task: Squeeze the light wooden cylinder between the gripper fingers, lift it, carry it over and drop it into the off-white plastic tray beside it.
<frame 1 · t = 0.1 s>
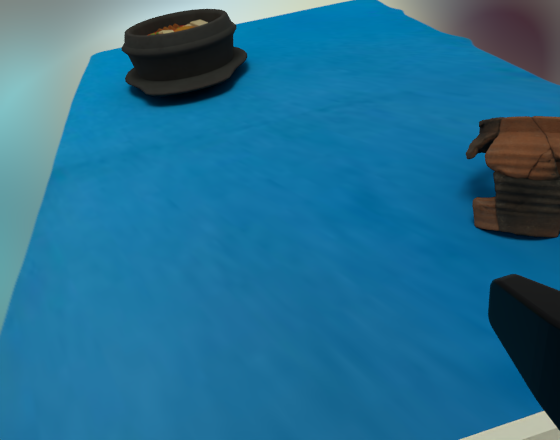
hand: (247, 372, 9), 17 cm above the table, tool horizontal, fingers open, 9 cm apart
casserole: (189, 79, 81), on the table
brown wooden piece: (536, 211, 40), on the table
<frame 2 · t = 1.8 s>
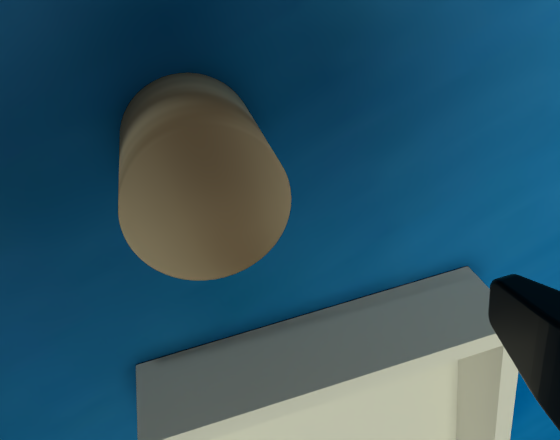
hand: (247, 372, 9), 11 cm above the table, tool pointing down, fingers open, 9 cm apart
serving tray: (327, 423, 27), on the table
wooden cylinder: (188, 138, 18), on the table
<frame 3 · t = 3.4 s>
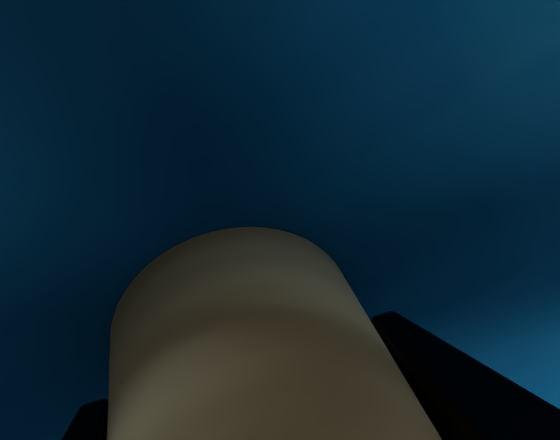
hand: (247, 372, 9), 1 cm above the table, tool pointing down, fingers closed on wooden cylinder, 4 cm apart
wooden cylinder: (236, 330, 10), on the table, touching gripper
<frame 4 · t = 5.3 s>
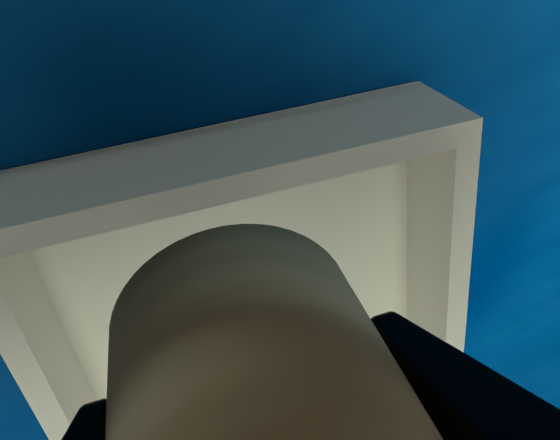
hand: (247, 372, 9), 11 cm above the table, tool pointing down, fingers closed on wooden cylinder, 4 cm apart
serving tray: (246, 297, 22), on the table
wooden cylinder: (235, 328, 10), point 10 cm above the table, touching gripper
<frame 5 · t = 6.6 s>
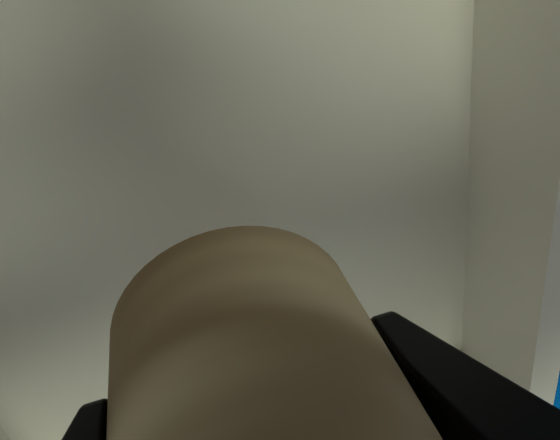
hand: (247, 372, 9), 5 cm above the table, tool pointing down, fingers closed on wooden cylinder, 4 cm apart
serving tray: (209, 217, 13), on the table
wooden cylinder: (236, 330, 10), point 4 cm above the table, touching gripper
when the fingers open (4 cm above the table, at t = 7.5 s): wooden cylinder drops 3 cm, resting on serving tray.
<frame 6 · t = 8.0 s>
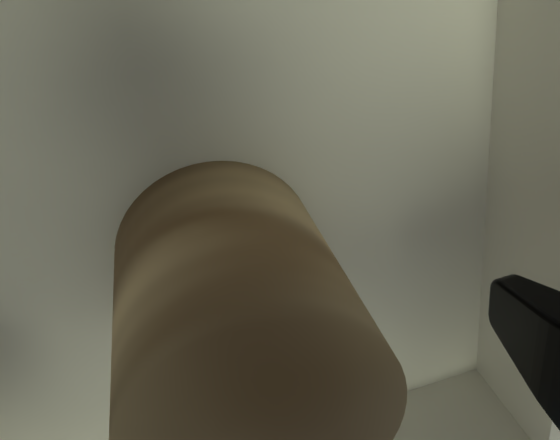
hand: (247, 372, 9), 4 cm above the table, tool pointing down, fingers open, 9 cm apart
serving tray: (212, 235, 13), on the table
wooden cylinder: (217, 251, 12), point 1 cm above the table, touching serving tray
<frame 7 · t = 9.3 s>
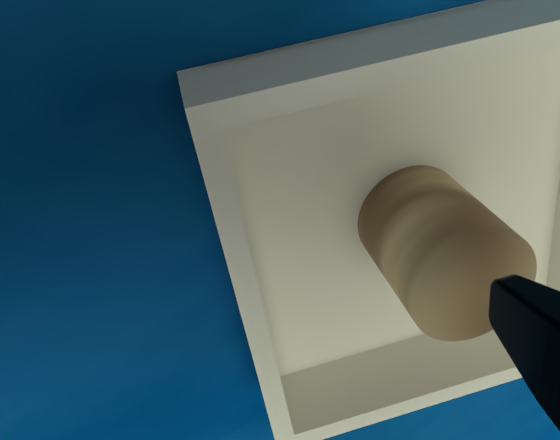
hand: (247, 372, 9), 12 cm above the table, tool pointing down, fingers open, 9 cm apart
serving tray: (401, 207, 22), on the table
wooden cylinder: (409, 215, 21), point 1 cm above the table, touching serving tray
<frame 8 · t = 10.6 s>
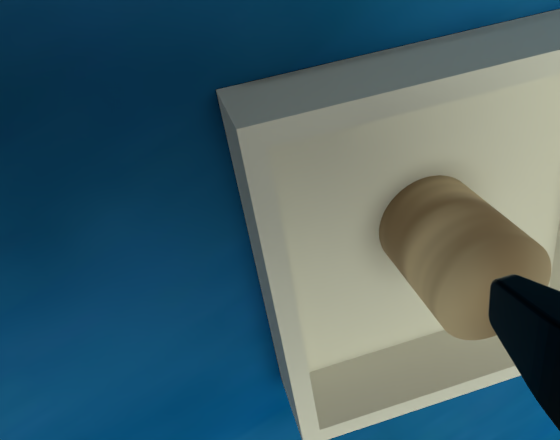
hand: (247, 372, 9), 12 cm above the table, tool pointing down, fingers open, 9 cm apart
serving tray: (417, 214, 24), on the table
wooden cylinder: (426, 222, 23), point 1 cm above the table, touching serving tray
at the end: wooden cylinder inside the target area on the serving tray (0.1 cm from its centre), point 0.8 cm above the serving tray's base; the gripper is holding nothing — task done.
